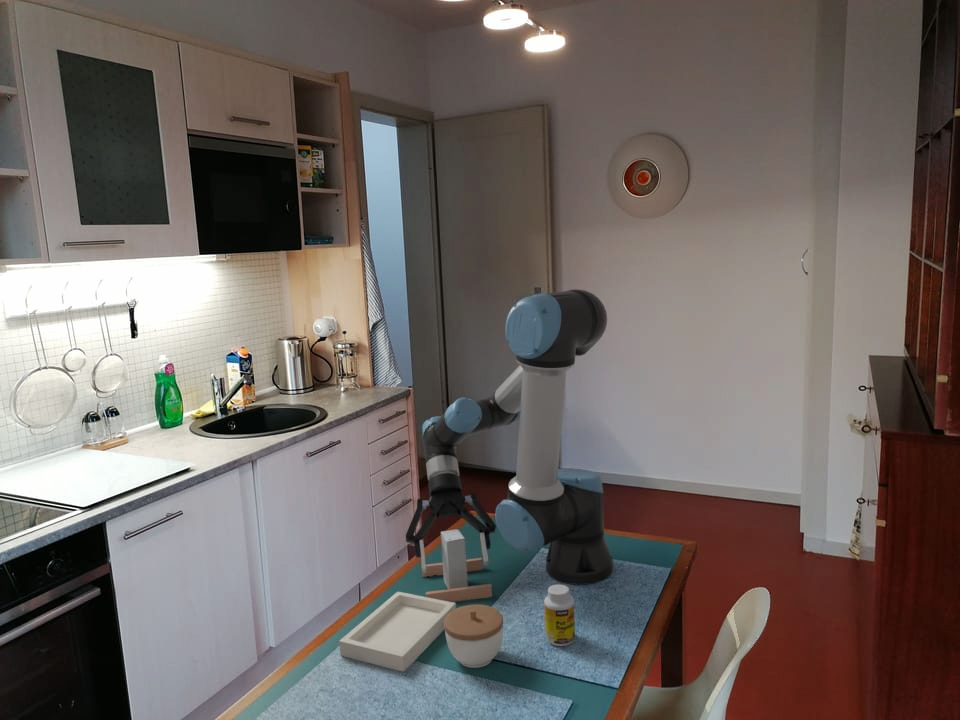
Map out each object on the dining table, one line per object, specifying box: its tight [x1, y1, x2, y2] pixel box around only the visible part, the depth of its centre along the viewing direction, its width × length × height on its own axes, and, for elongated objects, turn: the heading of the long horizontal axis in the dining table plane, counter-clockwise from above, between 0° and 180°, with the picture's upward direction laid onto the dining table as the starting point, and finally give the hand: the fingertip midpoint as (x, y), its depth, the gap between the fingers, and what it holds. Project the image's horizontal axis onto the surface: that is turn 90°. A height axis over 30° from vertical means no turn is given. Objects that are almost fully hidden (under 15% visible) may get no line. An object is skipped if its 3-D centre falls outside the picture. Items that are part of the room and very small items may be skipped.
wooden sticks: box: [421, 557, 493, 603], centre depth 157 cm, size 14×14×2 cm
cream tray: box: [338, 591, 457, 673], centre depth 138 cm, size 20×14×3 cm
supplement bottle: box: [543, 584, 576, 647], centre depth 133 cm, size 6×6×10 cm
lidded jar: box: [444, 604, 504, 669], centre depth 129 cm, size 11×11×9 cm
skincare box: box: [440, 528, 469, 589], centre depth 156 cm, size 6×4×12 cm
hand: (455, 567), depth 154 cm, fingers open, 13 cm apart
